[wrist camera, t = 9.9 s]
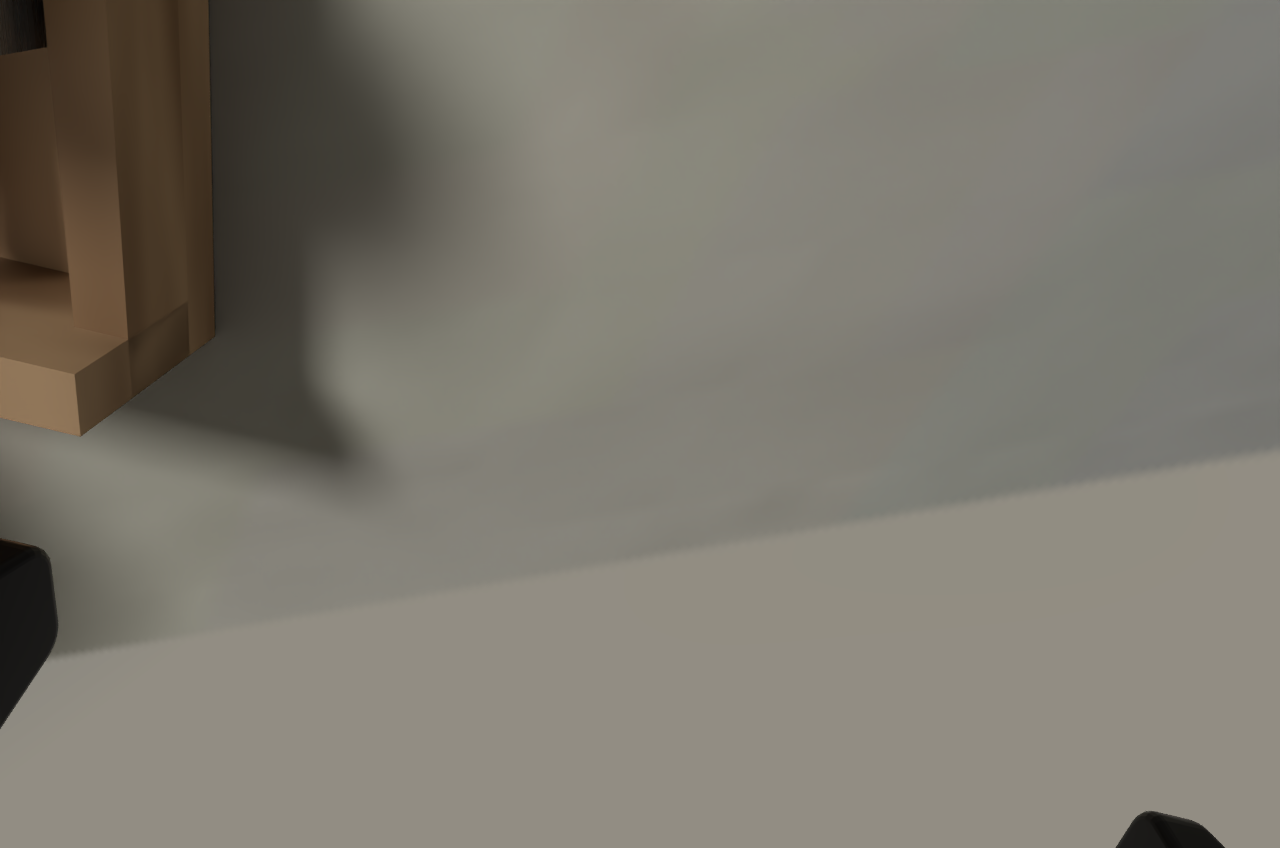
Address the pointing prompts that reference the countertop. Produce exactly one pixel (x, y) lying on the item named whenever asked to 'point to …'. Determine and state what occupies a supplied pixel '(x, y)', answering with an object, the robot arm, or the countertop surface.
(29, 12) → the pusher
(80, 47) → the wooden tray
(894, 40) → the countertop surface
